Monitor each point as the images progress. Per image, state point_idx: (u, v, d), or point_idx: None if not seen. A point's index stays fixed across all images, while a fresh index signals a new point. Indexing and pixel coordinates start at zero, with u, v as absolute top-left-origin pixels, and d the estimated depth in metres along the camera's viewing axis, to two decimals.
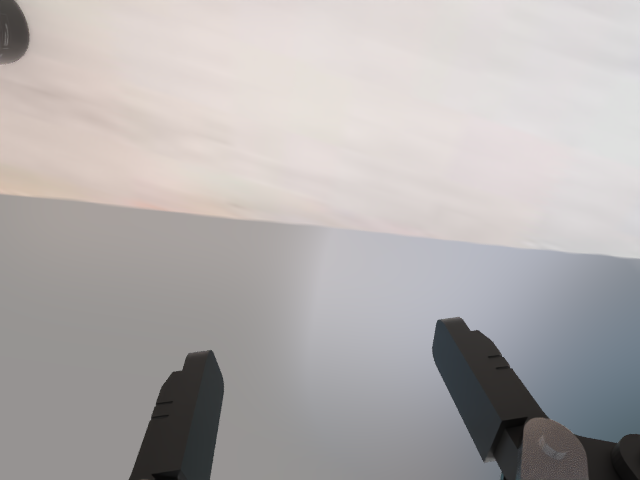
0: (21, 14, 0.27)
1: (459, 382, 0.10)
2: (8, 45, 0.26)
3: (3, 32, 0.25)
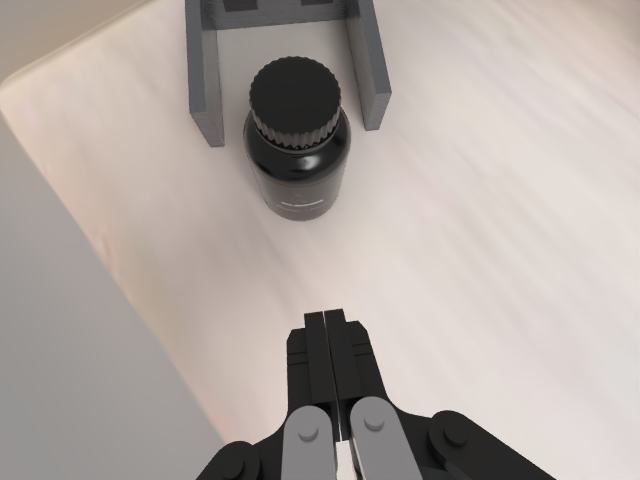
0: (332, 204, 0.27)
1: (332, 368, 0.11)
2: (309, 211, 0.24)
3: (322, 204, 0.24)
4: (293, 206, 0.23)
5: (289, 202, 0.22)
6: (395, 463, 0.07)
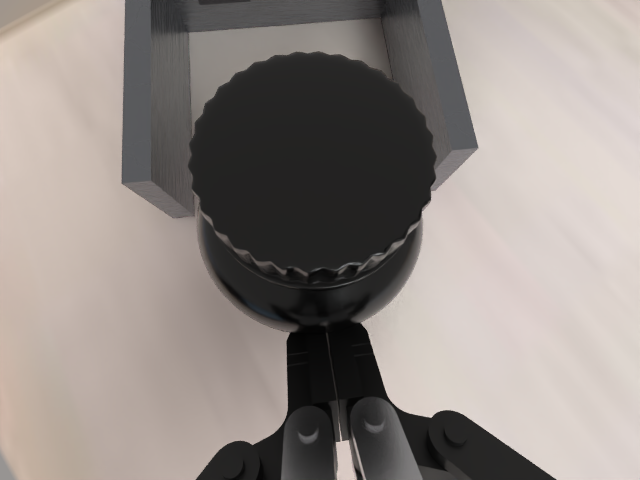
0: None
1: (332, 368, 0.11)
2: None
3: None
4: None
5: None
6: (395, 463, 0.07)
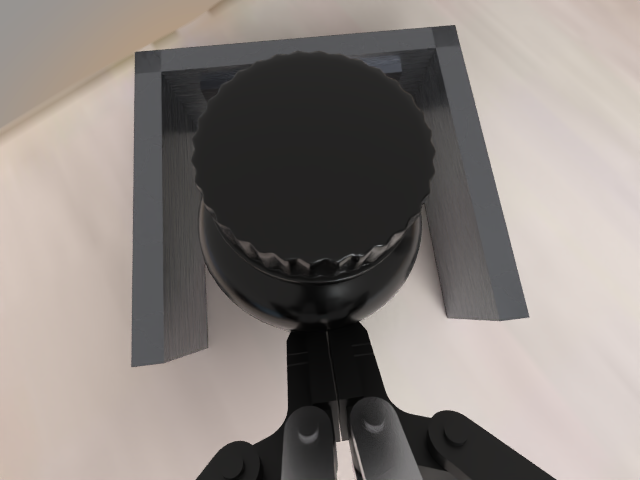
0: None
1: (332, 368, 0.11)
2: None
3: None
4: None
5: None
6: (395, 463, 0.07)
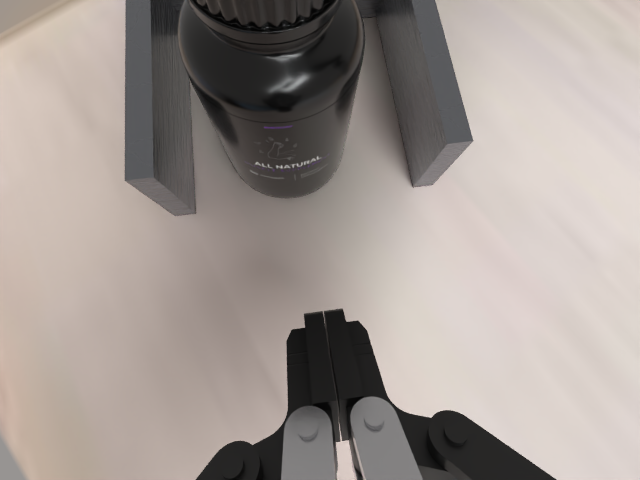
0: (334, 172, 0.18)
1: (332, 368, 0.11)
2: (300, 178, 0.16)
3: (318, 166, 0.15)
4: (274, 170, 0.15)
5: (266, 161, 0.14)
6: (396, 463, 0.07)
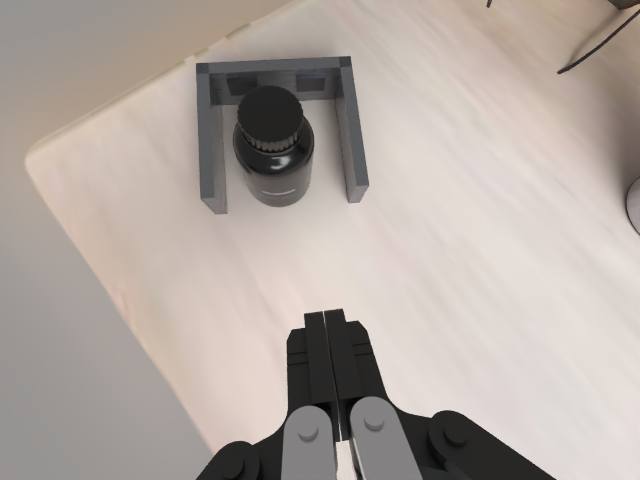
0: (304, 193, 0.33)
1: (332, 368, 0.11)
2: (285, 198, 0.31)
3: (294, 193, 0.30)
4: (272, 195, 0.30)
5: (268, 191, 0.29)
6: (395, 463, 0.07)
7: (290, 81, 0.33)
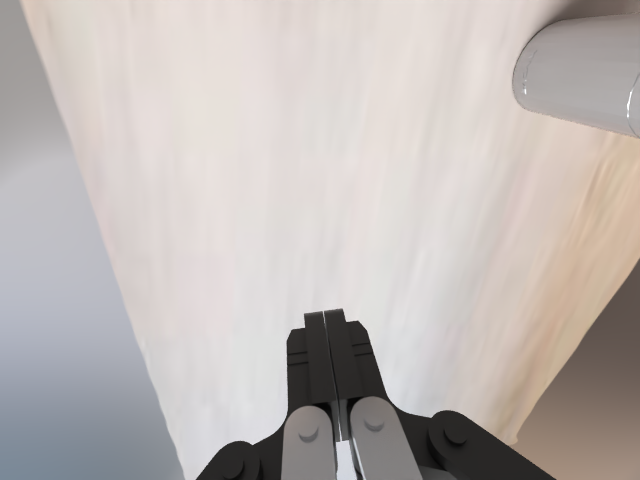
0: None
1: (332, 368, 0.11)
2: None
3: None
4: None
5: None
6: (395, 463, 0.07)
7: None
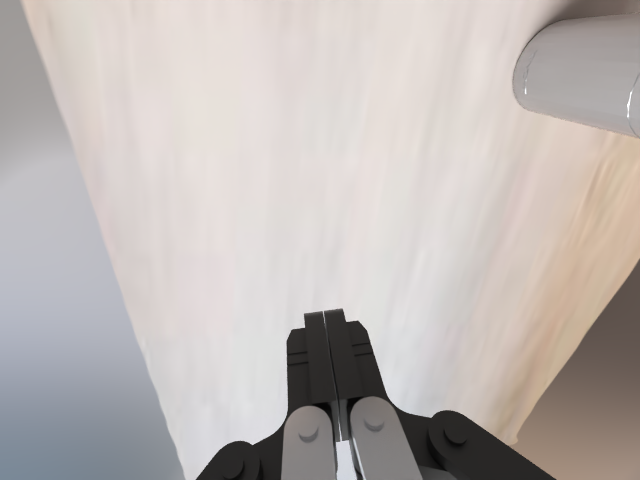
0: None
1: (332, 368, 0.11)
2: None
3: None
4: None
5: None
6: (395, 463, 0.07)
7: None
